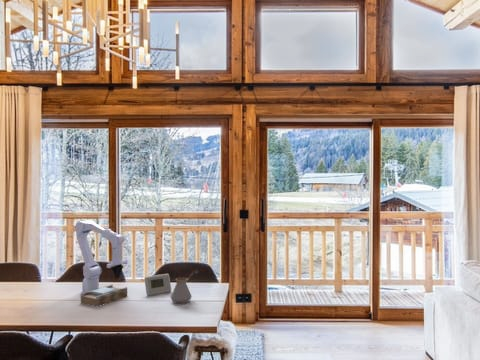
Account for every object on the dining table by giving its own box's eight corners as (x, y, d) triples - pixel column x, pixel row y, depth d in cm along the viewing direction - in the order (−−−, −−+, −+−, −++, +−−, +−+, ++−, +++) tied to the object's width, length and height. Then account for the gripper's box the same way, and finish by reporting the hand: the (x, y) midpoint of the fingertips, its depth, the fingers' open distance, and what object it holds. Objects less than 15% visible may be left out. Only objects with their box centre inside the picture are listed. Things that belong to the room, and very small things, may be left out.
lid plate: (105, 289, 228) (105, 287, 228) (116, 291, 224) (116, 289, 224) (91, 293, 219) (91, 291, 219) (103, 296, 215) (103, 293, 215)
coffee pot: (183, 306, 210) (183, 278, 210) (166, 303, 215) (166, 276, 215) (204, 296, 229) (204, 270, 229) (188, 293, 234) (188, 268, 234)
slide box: (111, 293, 235) (111, 284, 235) (127, 296, 229) (127, 287, 229) (80, 303, 215) (80, 293, 215) (97, 306, 209) (97, 296, 209)
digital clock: (146, 296, 228) (146, 278, 228) (143, 292, 236) (143, 275, 236) (173, 293, 235) (173, 275, 235) (169, 289, 243) (169, 272, 243)
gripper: (113, 257, 222) (112, 281, 222) (131, 253, 235) (131, 276, 235) (104, 256, 226) (104, 280, 225) (122, 252, 238) (122, 274, 238)
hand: (117, 277), depth 230 cm, fingers closed
